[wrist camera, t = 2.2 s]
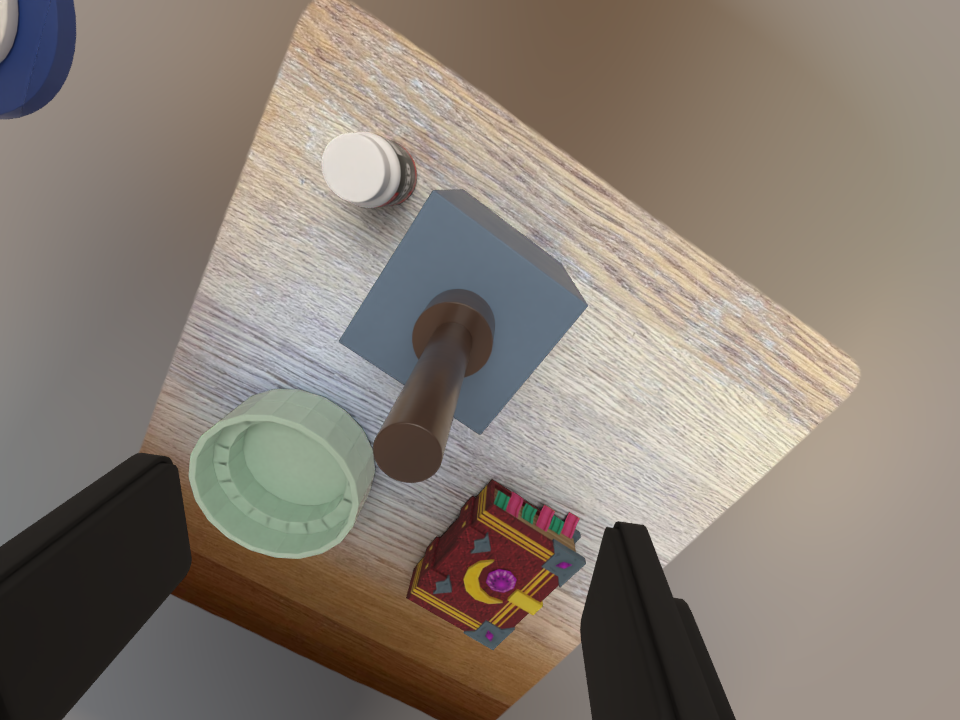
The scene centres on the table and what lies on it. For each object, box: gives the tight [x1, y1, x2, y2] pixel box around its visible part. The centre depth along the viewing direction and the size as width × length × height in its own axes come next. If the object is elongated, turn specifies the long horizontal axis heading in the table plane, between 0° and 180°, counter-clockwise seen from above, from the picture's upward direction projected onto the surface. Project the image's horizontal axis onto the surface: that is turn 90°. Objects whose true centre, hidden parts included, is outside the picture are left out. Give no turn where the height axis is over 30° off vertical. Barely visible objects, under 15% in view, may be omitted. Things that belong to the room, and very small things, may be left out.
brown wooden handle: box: [373, 289, 495, 483], centre depth 19 cm, size 4×4×13 cm
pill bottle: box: [322, 131, 417, 208], centre depth 32 cm, size 5×5×8 cm
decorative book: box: [406, 480, 586, 650], centre depth 46 cm, size 11×16×5 cm
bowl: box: [189, 389, 375, 559], centre depth 43 cm, size 15×15×6 cm
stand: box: [339, 189, 588, 435], centre depth 31 cm, size 10×10×14 cm
